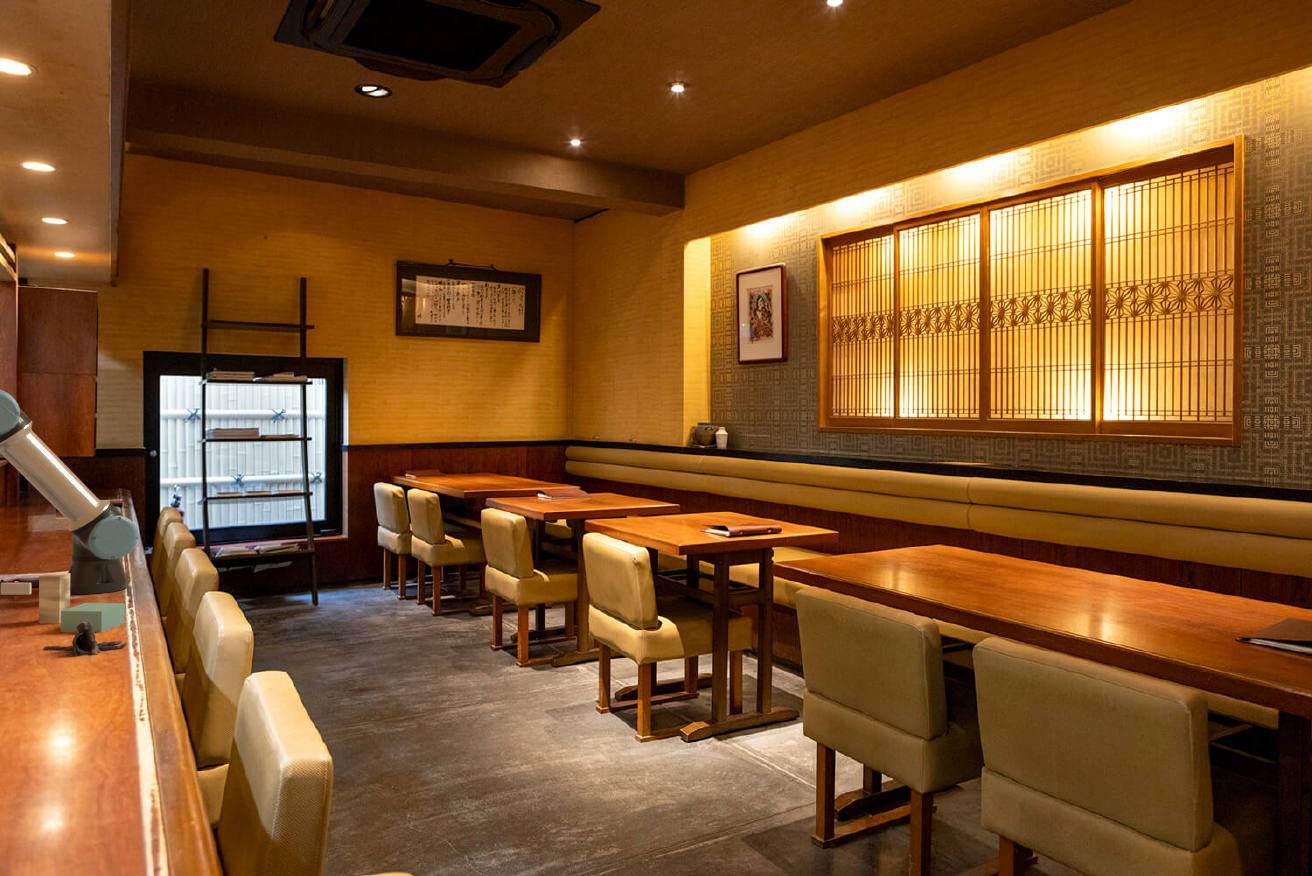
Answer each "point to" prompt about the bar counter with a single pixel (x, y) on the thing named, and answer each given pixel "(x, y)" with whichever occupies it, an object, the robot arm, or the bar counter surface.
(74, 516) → the robot arm
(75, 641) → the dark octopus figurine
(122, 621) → the green square block
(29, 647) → the bar counter surface
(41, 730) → the bar counter surface
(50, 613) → the block
